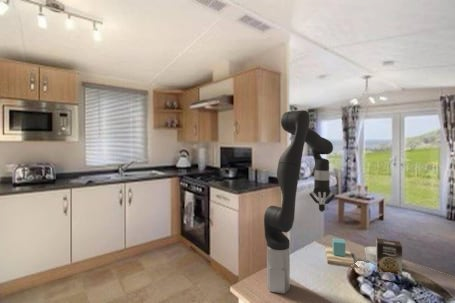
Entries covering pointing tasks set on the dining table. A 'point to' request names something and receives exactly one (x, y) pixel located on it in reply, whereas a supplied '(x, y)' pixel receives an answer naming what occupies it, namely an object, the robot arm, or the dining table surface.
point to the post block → (339, 257)
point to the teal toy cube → (338, 247)
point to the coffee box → (388, 256)
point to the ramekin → (371, 254)
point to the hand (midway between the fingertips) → (321, 211)
